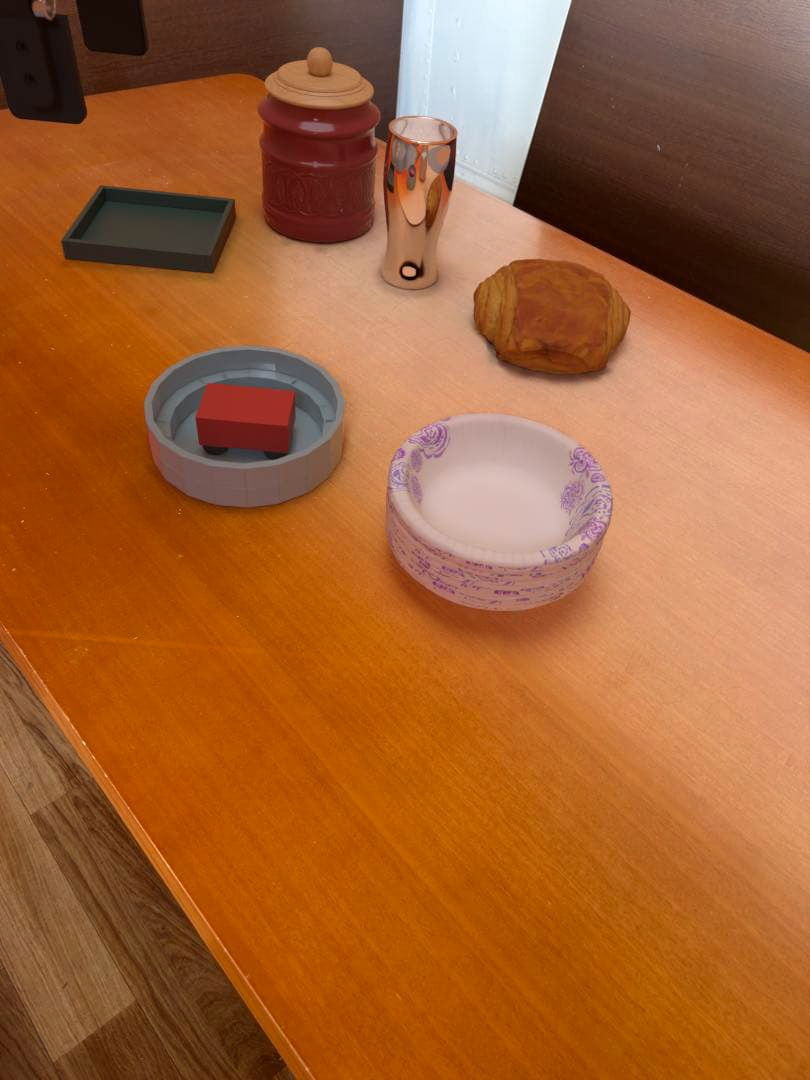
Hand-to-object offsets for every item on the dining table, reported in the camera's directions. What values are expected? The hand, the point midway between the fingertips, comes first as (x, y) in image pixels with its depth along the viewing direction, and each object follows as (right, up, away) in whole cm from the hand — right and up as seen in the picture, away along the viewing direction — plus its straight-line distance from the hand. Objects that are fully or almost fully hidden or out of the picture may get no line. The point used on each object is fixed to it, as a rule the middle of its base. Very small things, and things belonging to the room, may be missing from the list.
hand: (87, 82), depth 38 cm
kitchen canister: (+5, +16, +55) cm, 57 cm away
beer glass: (+16, +7, +48) cm, 51 cm away
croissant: (+29, -2, +41) cm, 51 cm away
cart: (+3, -14, +26) cm, 30 cm away
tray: (-12, +11, +49) cm, 51 cm away
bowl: (+3, -14, +27) cm, 30 cm away
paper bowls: (+21, -23, +21) cm, 38 cm away
